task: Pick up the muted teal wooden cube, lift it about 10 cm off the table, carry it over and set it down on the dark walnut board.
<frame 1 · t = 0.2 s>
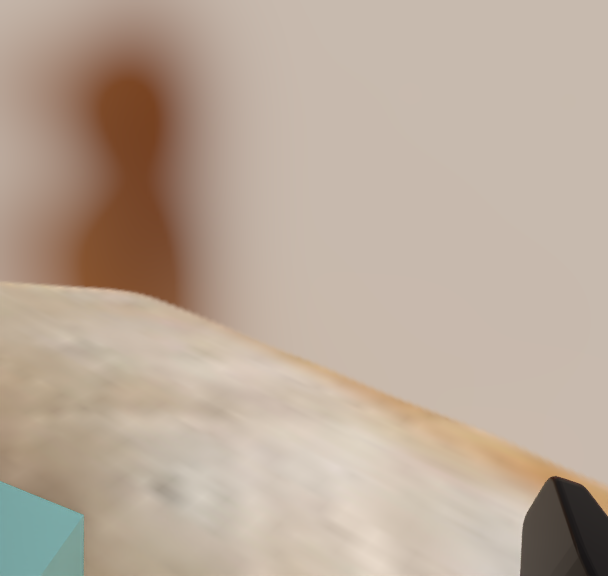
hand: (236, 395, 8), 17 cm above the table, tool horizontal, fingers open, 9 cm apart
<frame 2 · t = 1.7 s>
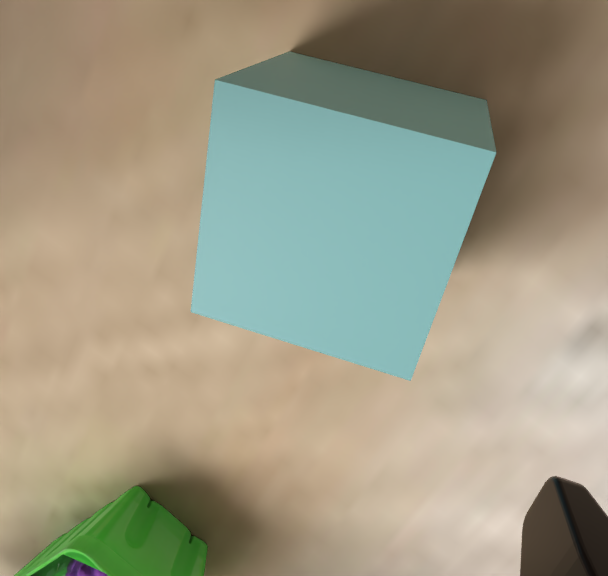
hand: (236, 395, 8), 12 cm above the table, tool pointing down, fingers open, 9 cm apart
fruit basket: (138, 545, 31), on the table
teal cube: (361, 170, 18), on the table
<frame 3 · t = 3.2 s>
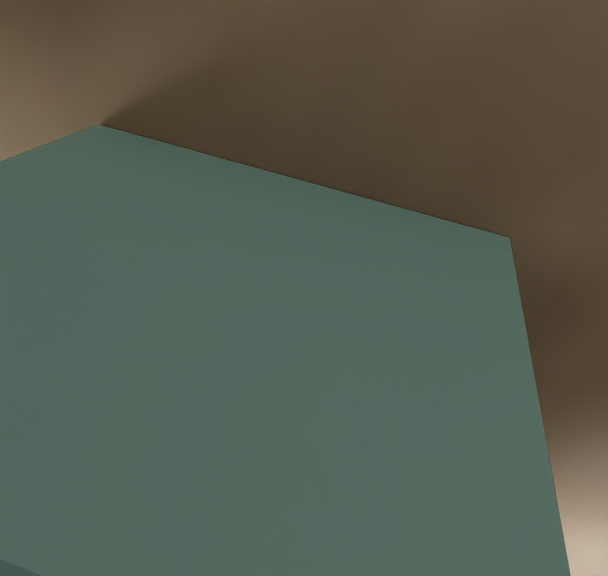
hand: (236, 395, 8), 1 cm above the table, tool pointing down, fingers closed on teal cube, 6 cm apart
teal cube: (262, 348, 9), on the table, touching gripper
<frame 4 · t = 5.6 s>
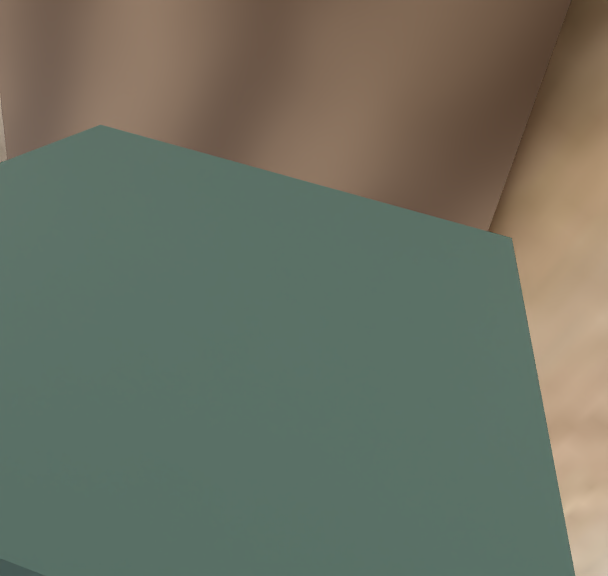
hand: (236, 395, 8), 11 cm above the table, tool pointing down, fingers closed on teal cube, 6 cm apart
teal cube: (263, 348, 9), point 10 cm above the table, touching gripper
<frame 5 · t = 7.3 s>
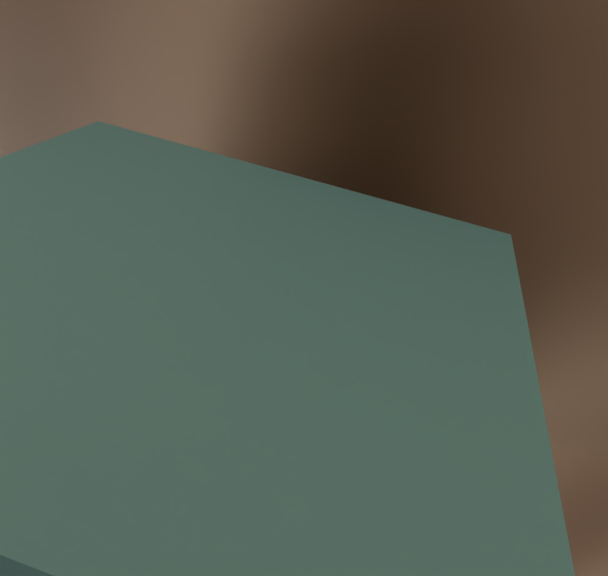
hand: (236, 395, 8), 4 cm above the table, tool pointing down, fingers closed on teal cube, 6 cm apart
teal cube: (262, 346, 9), point 3 cm above the table, touching gripper
walnut board: (306, 272, 12), on the table
when the fingers open (3 cm above the table, at t = 8.4 s): teal cube stays where it is, resting on walnut board.
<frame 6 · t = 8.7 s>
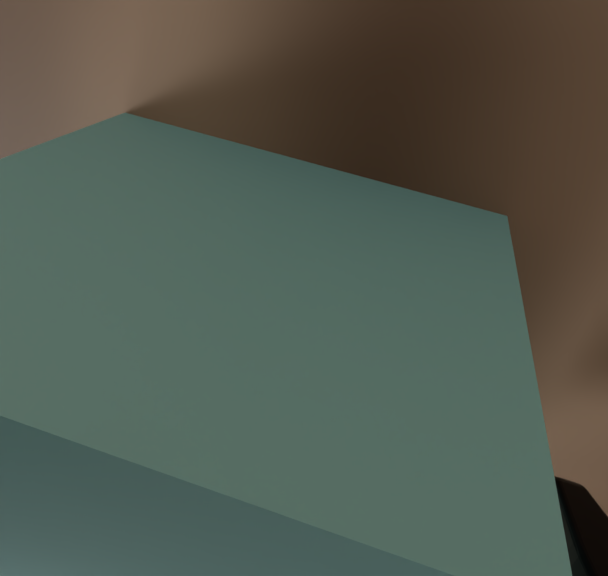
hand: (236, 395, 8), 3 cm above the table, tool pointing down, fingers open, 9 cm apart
teal cube: (275, 324, 10), point 1 cm above the table, touching walnut board
walnut board: (294, 292, 11), on the table
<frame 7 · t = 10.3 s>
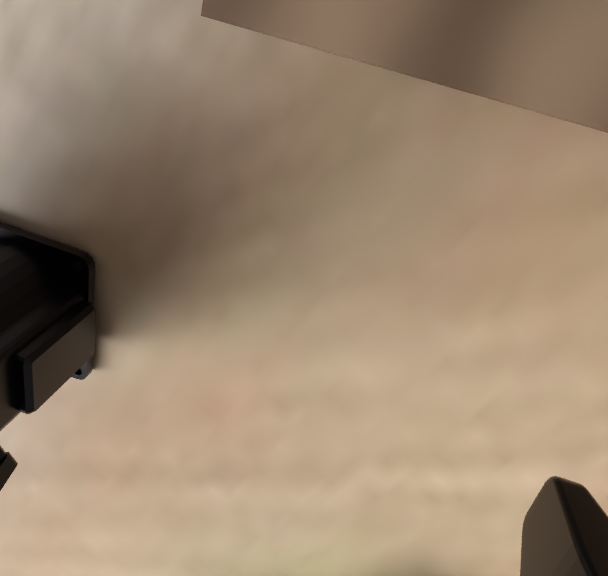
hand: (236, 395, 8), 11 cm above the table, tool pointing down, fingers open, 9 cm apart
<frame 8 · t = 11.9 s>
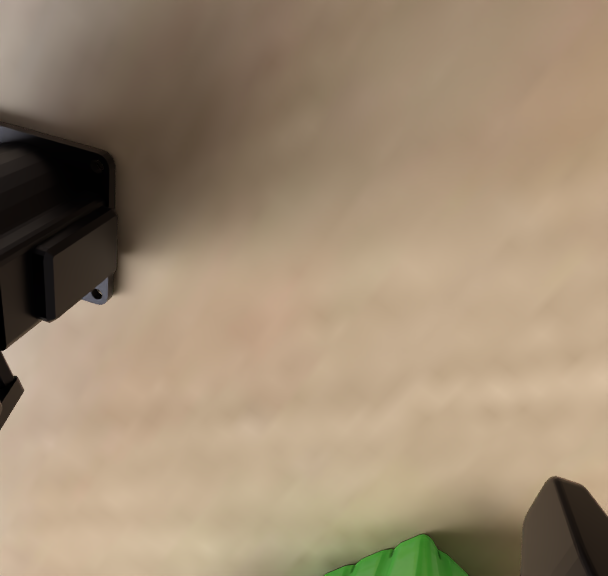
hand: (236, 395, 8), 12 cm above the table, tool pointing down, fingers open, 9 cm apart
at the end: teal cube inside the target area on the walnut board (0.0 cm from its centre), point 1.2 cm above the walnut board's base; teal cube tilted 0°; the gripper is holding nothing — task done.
